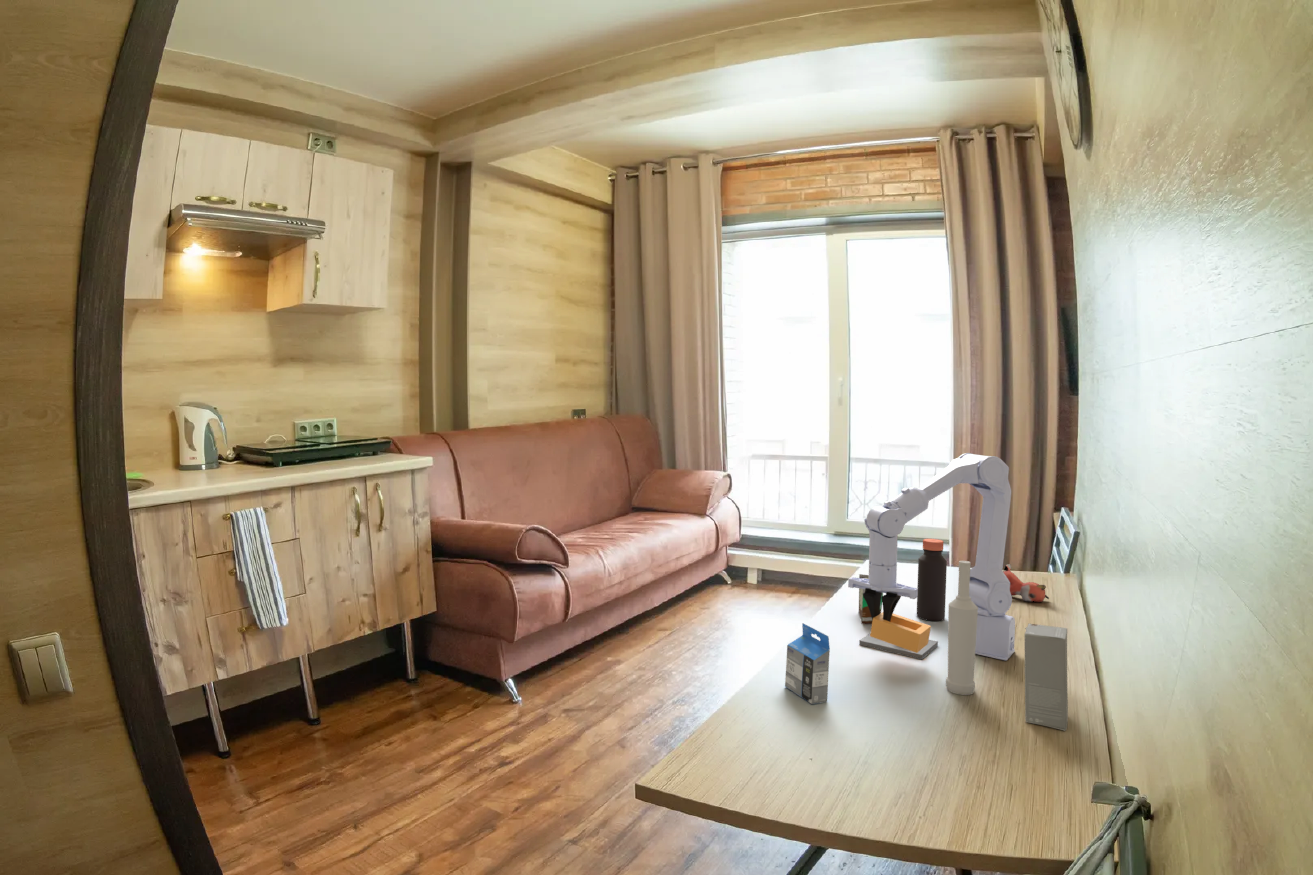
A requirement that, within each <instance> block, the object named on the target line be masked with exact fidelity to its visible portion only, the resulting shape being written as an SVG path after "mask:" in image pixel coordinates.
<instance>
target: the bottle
mask: <svg viewBox="0 0 1313 875" xmlns="http://www.w3.org/2000/svg"><path fill="white" fill-rule="evenodd" d="M970 569H971V561H968V560H959V561H958V585H957V586H958V587H957V588H958V589H957V594H956V595H955V598H954V599H953V600H951V601H950V602H949V603H948V611H947V612H948V613H947V614H948V619H947V620H948V627H947V628H948V629H947V631H948V632H947V676H946V678H945V686H946V689H947V691H949V692H951V693H953V694H957V695H959V696H962V695H963V696H970V695H973V694H974V692H975V688H976V683H975V681H974V677H975V660H976V654H975V648H976V631H977V615H978V607H977V606H976V605H975V604H974V603H973V602H972V601H971V597H969V585H970Z"/></svg>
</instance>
